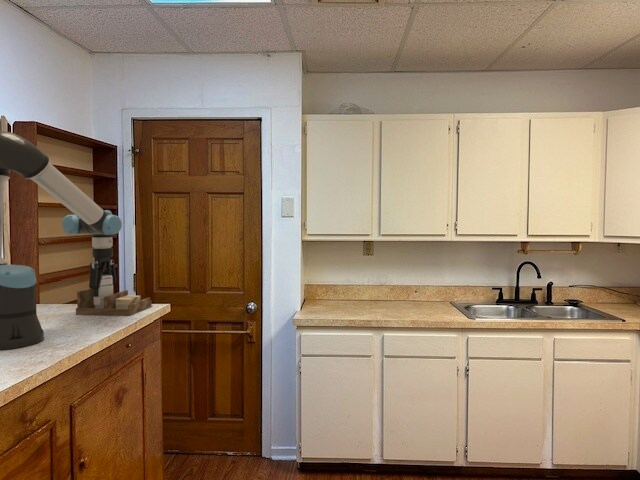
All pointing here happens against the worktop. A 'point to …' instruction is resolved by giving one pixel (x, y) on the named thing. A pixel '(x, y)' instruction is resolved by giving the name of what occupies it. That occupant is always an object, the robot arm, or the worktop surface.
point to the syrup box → (105, 288)
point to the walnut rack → (107, 304)
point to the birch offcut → (127, 300)
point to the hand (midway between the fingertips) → (103, 302)
